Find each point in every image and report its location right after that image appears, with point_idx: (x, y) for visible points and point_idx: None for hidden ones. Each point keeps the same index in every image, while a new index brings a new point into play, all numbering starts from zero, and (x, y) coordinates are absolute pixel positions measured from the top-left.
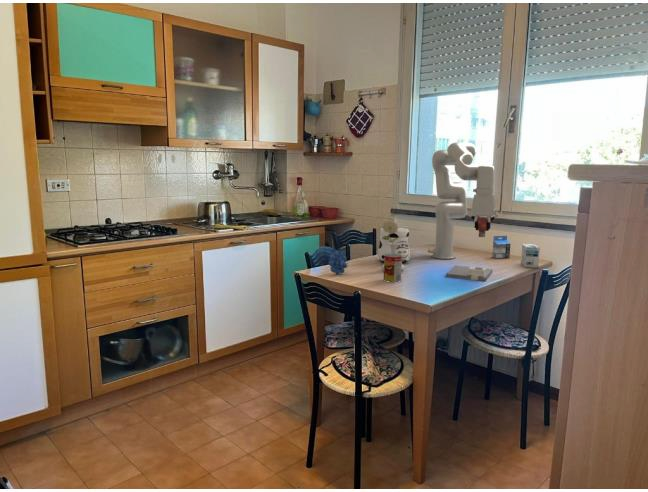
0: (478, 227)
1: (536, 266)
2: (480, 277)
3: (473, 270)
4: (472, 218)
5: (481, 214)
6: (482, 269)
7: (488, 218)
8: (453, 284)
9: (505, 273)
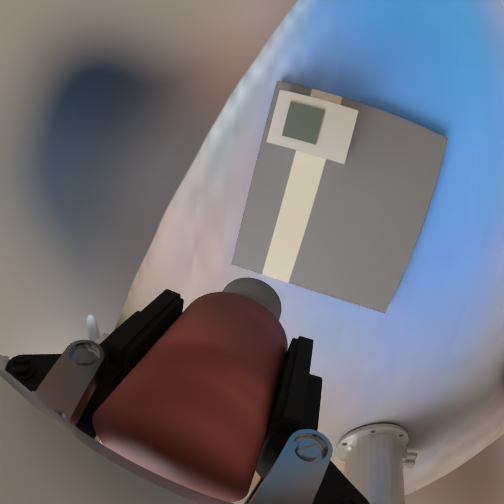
0: (272, 347)
1: (105, 335)
2: (300, 86)
3: (333, 103)
4: (350, 491)
5: (133, 496)
6: (287, 107)
7: (68, 389)
8: (406, 20)
9: (187, 245)
